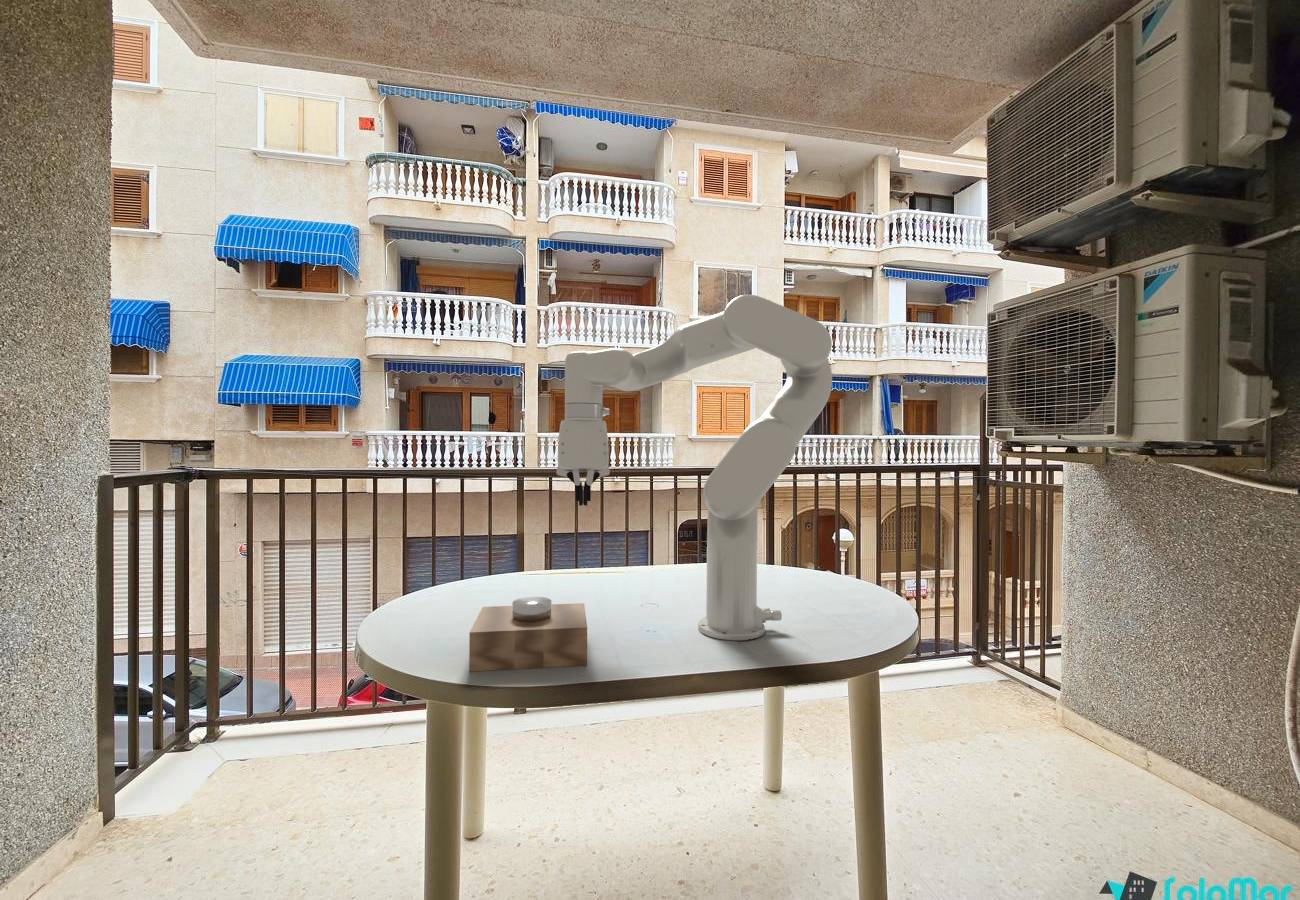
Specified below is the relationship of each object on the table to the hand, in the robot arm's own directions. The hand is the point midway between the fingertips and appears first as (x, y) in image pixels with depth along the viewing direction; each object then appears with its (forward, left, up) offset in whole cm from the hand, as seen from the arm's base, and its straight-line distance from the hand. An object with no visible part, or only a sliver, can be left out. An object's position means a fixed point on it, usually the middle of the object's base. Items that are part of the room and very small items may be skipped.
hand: (583, 504), depth 112 cm
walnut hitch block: (+9, +17, -23) cm, 30 cm away
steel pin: (+9, +17, -22) cm, 29 cm away
